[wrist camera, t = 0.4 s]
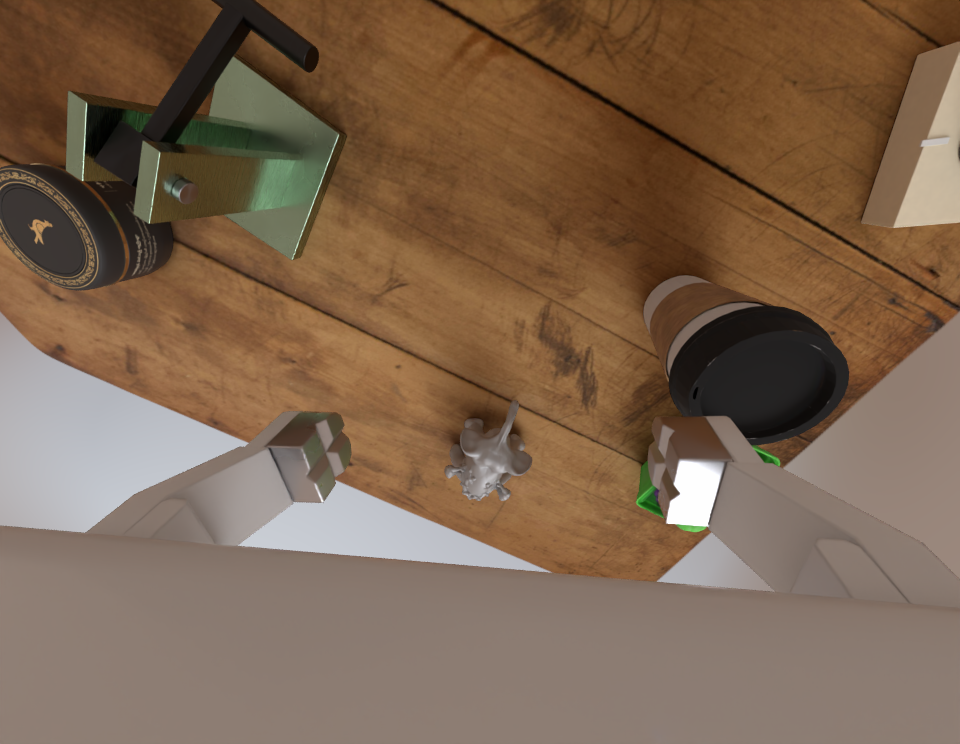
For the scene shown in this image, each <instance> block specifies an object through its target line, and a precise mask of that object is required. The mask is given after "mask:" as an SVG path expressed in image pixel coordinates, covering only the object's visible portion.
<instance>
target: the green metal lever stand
mask: <svg viewBox="0 0 960 744" xmlns="http://www.w3.org/2000/svg"><path fill="white" fill-rule="evenodd" d="M156 108H157V106H152V105H146V104H141V103H135V102H129V101H124V100H118V99H112V98H107V97H101V96H96V95H90V94H84V93H79V92H73V91H68V109H67V146H66V171H67V172H68V173H70V174H72V175H73V176H75V177H76V178H78V179H79V180H81V181H123V180H121V179H120V178H118V177H117V176H115V175H114V174H112V173H111V172H109V171H107V170H106V169H104V168H103V167H101V166H100V165H98V164H97V163H95V162H94V159H95V157H96V156H97V154H98V153H99V151H100V150H101V148H102V147H103V145H104V144H105V142H106V141H107V139H108V138H109V136H110V135H111V133H112V132H113V130H114V129H115V127H116V126H117V124H118V123H119V121H120V120H122V121H124V122H125V123H127V124H128V125H129V126H131V127H132V128H134V129H135V130H137V131H138V132H140V133H141V131H142V129H143V128H144V126H145V125H146V123H147V122H148V120H149V119H150V117H151V116H152V114H153V113H154V111H155V110H156ZM346 137H347V136H346V135H345V134H344V133H343V132H341V131H340V130H339V129H337V128H336V127H334V126H333V125H332V124H330V123H329V122H328V121H326V120H325V119H324V118H322V117H321V116H320V115H318V114H317V113H316V112H314V111H313V110H311V109H310V108H309V107H307V106H306V105H305V104H303V103H302V102H301V101H299V100H298V99H297V98H295V97H294V96H292V95H291V94H290V93H288V92H287V91H286V90H284V89H283V88H282V87H280V86H279V85H278V84H276V83H275V82H273V81H272V80H271V79H269V78H268V77H267V76H265V75H264V74H263V73H261V72H260V71H259V70H257V69H256V68H255V67H253V66H252V65H250V64H249V63H248V62H246V61H245V60H244V59H242V58H241V57H240V56H238V55H237V54H235V55H234V56H233V58H232V59H231V61H230V62H229V64H228V65H227V67H226V68H225V70H224V71H223V73H222V74H221V76H220V77H219V79H218V80H217V82H216V83H215V87H214V92H213V97H212V102H211V107H210V112H209V116H208V115H202V114H197V113H195V115H194V116H193V118H192V119H191V121H190V122H189V124H188V125H187V127H186V128H185V130H184V131H183V133H182V134H181V136H180V137H179V139H178V140H177V142H176V143H165V142H154V141H142V149H141V157H140V165H139V173H138V181H137V189H136V197H135V205H134V215H136V216H137V217H139V218H141V219H142V220H144V221H145V222H147V223H148V224H153V223H161V222H169V221H177V220H185V219H193V218H201V217H210V216H218V215H224V216H226V217H227V218H229V219H230V220H232V221H233V222H235V223H236V224H238V225H239V226H241V227H242V228H244V229H245V230H247V231H248V232H250V233H251V234H253V235H254V236H256V237H258V238H259V239H261V240H262V241H264V242H265V243H267V244H268V245H270V246H271V247H273V248H274V249H276V250H277V251H279V252H280V253H282V254H283V255H285V256H286V257H288V258H289V259H291V260H294V259H297V258H300V257H301V254H302V252H303V249H304V246H305V244H306V241H307V239H308V236H309V233H310V231H311V228H312V226H313V223H314V220H315V218H316V215H317V213H318V210H319V207H320V205H321V202H322V200H323V197H324V194H325V192H326V189H327V187H328V184H329V181H330V179H331V176H332V174H333V171H334V168H335V166H336V163H337V161H338V158H339V155H340V153H341V150H342V148H343V145H344V142H345V140H346Z"/></svg>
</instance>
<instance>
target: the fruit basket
mask: <svg viewBox="0 0 960 744" xmlns="http://www.w3.org/2000/svg"><path fill="white" fill-rule="evenodd" d="M751 446H752V447H753V449H754V450H755V451H756V452H757V454H758V455H759V456H760V458H761V459H762V460H763V462H764V463H773V464H775V465H777V466H780V461H779V459H778V458H777V457H775V456H773V455H772V454H771V453H769V452H767V451H765V450H763V449H761V448H759V447H758V446H757V445H751ZM658 495H659V490H658V489H657V488H656V487H655V486H653V485H652V482H651V479H650V475H649V470H648V460H647V461H646V462H645V463H644V464H643V465H642V467H641V474H640V485H639V492H638V495H637V501H636V503H637V505H638V506H640V507H641V508H643V509H646V510H648V511H650V512H652V513H654V514H656V515H658V516H660V517H662V518H664V516H663V513H662V510H661V508H660V505H659V502H658ZM676 525H677V526H678V527H679V528H681V529H682V530H685V531H691V532H698V531H701V530H704V529H705V528H706V527H705V526H693V525H681V524H676Z"/></svg>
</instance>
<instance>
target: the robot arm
mask: <svg viewBox="0 0 960 744" xmlns="http://www.w3.org/2000/svg"><path fill="white" fill-rule="evenodd" d="M343 427H344V422H343V420H342V417H341V415H340V414H338V413H336V412H311V411H304V412H303V411H287V412H283V413H282V414H280V415H279V416H278V417H277V418H276V419H275V420H274V421H273V422H272V423H271V424H269V425H268V426H267V427H266V428H265V429H264V430H263V431H262V432H261V433H260V434H258V435H257V436H256V437H255V438H254V439H253V440H252V441H251V442H250V443H249V444H247V445H246V446H245V447H238V448H236V449H234V450H231V451H229V452H227V453H225V454H222V455H220V456H218V457H216V458H214V459H211V460H209V461H207V462H205V463H203V464H200V465H198V466H196V467H194V468H191V469H189V470H187V471H185V472H183V473H181V474H178V475H176V476H174V477H172V478H169V479H167V480H165V481H163V482H160V483H158V484H156V485H154V486H152V487H149V488H147V489H145V490H143V491H141V492H138V493H136V494H134V495H133V496H132V497H130V498H129V499H128V500H126V501H125V502H124V503H123V504H121V505H120V506H119V507H118V508H116V509H115V510H114V511H113V512H111V513H110V514H109V515H107V516H106V517H105V518H104V519H102V520H101V521H100V522H99V523H97V524H96V525H95V526H93V527H92V528H91V529H90V530H88V531H87V532H86V533H81V532H69V531H57V530H46V529H34V528H22V527H10V526H0V744H960V579H959V578H958V577H957V576H956V575H955V574H954V573H953V572H952V571H951V570H950V569H949V568H948V567H947V566H946V565H945V564H944V563H943V562H942V561H941V560H940V559H939V558H938V557H937V556H936V555H935V554H934V553H933V552H932V551H931V550H929V548H928V547H927V546H926V545H924V544H923V543H922V542H920V541H918V540H916V539H915V538H913V537H911V536H909V535H907V534H905V533H903V532H901V531H899V530H897V529H896V528H894V527H892V526H890V525H888V524H886V523H884V522H882V521H881V520H879V519H877V518H875V517H873V516H871V515H869V514H867V513H865V512H864V511H862V510H860V509H858V508H856V507H854V506H852V505H850V504H848V503H847V502H845V501H843V500H841V499H839V498H837V497H835V496H833V495H832V494H830V493H828V492H826V491H824V490H822V489H820V488H818V487H816V486H814V485H813V484H810V483H809V482H807V481H805V480H803V479H801V478H799V477H798V476H796V475H794V474H792V473H790V472H788V471H786V470H784V469H782V468H781V467H779V466H777V465H775V464H773V463H764V462H763V460H762V459H761V458H760V456H759V455H758V454H757V452H756V451H755V450H754V449H753V447H752V446H751V445H750V443H749V442H748V441H747V440H746V438H745V437H744V436H743V434H742V433H741V432H740V430H739V429H738V428H737V427H736V425H735V424H734V423H733V421H732V420H731V419H730V418H729V417H727V416H701V417H655V418H654V421H653V425H652V430H651V431H652V434H653V436H654V439H655V441H654V442H653V443H652V444H651V445H649V451H648V470H649V475H650V479H651V482H652V485H653V486H655V487H656V488H657V489H658V490H659V495H658V502H659V505H660V508H661V510H662V513H663V516H664V519H665V522H666V523H669V524H681V525H693V526H705V527H708V529H709V530H710V531H711V532H712V533H713V534H714V535H715V536H717V537H718V538H719V539H720V540H721V541H722V542H723V543H724V544H725V545H726V546H727V547H728V548H729V549H730V550H731V551H733V552H734V553H735V554H736V555H737V556H738V557H739V558H740V559H741V560H742V561H743V562H744V563H746V565H748V566H749V567H750V568H751V569H752V570H753V571H754V572H755V573H756V574H757V575H758V576H759V577H760V578H761V579H763V580H764V581H765V582H766V583H767V584H768V585H769V586H770V587H771V588H772V589H773V590H774V591H775V592H770V591H757V590H747V589H734V588H723V587H711V586H699V585H687V584H676V583H664V582H652V581H640V580H629V579H617V578H606V577H594V576H583V575H571V574H560V573H548V572H536V571H525V570H513V569H502V568H490V567H478V566H467V565H455V564H443V563H431V562H420V561H408V560H397V559H385V558H384V559H383V558H373V557H361V556H350V555H338V554H325V553H315V552H303V551H290V550H280V549H267V548H256V547H245V546H237V545H239V544H240V543H241V542H243V541H244V540H245V539H247V538H248V537H250V536H251V535H252V534H254V533H255V532H256V531H257V530H259V529H260V528H262V527H263V526H264V525H265V524H267V523H268V522H270V521H271V520H272V519H274V518H275V517H276V516H277V515H279V514H280V513H282V512H283V511H284V510H286V509H287V508H288V507H290V506H291V505H292V504H293V502H315V503H323V502H324V501H325V499H326V497H327V496H328V495H329V493H330V492H331V490H332V489H333V487H334V486H335V484H336V482H335V477H336V476H338V475H340V474H341V473H343V472H344V471H345V469H346V468H347V466H348V464H349V461H350V457H351V444H350V441H349V438H348V437H347V436H346V435H345V434H344V433H343V432H342V430H343Z"/></svg>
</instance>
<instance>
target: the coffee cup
mask: <svg viewBox="0 0 960 744" xmlns="http://www.w3.org/2000/svg"><path fill="white" fill-rule="evenodd" d="M643 316H644V321H645V324H646V326H647V328H648V331H649V333H650V335H651V338H652V341H653V344H654V346H655V349H656V351H657V354H658V357H659V359H660V362H661V364H662V367H663V370H664V372H665V375H666V377H667V380H668V382H669V389H670V394H671V397H672V399H673V402H674V404H675V405H676V406H677V408H678V410H679V411H680V412H681V414H682V415H683V416H684V417H701V416H727V417H729V418H730V419H731V420H732V421H733V423H734V424H735V425H736V427H737V428H738V429H739V430H740V432H741V433H742V434H743V436H744V437H745V438H746V440H747V441H748V442H749V443H750V445H762V444H769V443H774V442H778V441H782V440H786V439H789V438H791V437H794V436H796V435H799V434H801V433H803V432H805V431H807V430H809V429H811V428H812V427H814V426H816V425H817V424H818V423H820V422H821V421H822V420H824V419H825V418H826V417H827V416H828V415H829V414H830V413H831V412H832V411H833V410H834V409H835V408H836V407H837V406H838V404H839V403H840V401H841V399H842V398H843V396H844V394H845V391H846V389H847V386H848V380H849V369H848V365H847V361H846V359H845V357H844V356H843V354H842V352H841V351H840V350H839V349H838V348H837V347H836V346H835V345H834V343H833V341H832V340H831V338H830V336H829V334H828V333H827V332H826V331H825V330H824V329H823V328H822V327H821V326H820V325H818V324H817V323H815V322H814V321H813V320H812V319H811V318H809V317H807V316H805V315H804V314H802V313H800V312H798V311H795V310H792V309H788V308H785V307H777V306H773V305H771V304H768V303H766V302H763V301H760V300H758V299H755V298H752V297H749V296H747V295H744V294H741V293H738V292H736V291H733V290H730V289H727V288H725V287H722V286H719V285H716V284H713V283H711V282H708V281H706V280H704V279H701V278H698V277H695V276H688V275H684V276H677V277H673V278H670V279H668V280H666V281H664V282H662V283H661V284H659V285H658V286H657V287H656V288H655V289H654V290H653V291H652V292H651V293H650V295H649V296H648V298H647V300H646V302H645V305H644V311H643Z"/></svg>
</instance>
